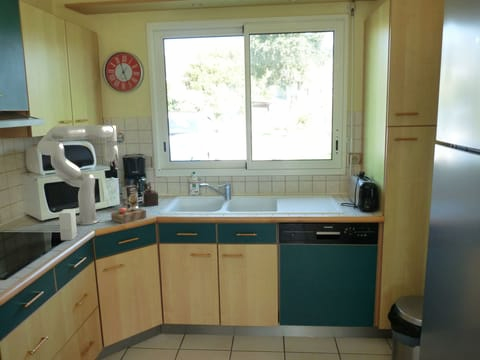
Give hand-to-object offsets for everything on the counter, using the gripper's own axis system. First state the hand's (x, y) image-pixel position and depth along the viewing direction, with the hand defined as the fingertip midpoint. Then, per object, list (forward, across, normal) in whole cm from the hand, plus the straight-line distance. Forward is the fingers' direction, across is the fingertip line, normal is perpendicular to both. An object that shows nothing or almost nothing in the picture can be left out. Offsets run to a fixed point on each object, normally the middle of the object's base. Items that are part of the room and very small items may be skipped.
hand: (113, 171), depth 266 cm
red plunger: (+26, +18, -5) cm, 32 cm away
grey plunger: (+27, +18, +4) cm, 33 cm away
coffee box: (+29, -7, +16) cm, 34 cm away
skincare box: (+29, +27, -44) cm, 59 cm away
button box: (+29, +18, -1) cm, 34 cm away
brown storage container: (+29, -3, +30) cm, 42 cm away
